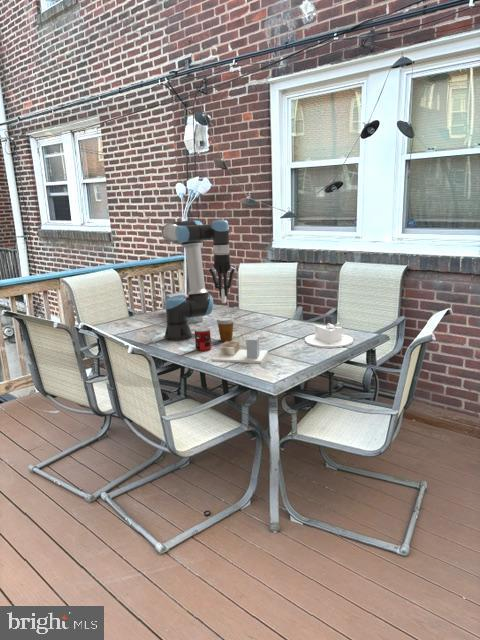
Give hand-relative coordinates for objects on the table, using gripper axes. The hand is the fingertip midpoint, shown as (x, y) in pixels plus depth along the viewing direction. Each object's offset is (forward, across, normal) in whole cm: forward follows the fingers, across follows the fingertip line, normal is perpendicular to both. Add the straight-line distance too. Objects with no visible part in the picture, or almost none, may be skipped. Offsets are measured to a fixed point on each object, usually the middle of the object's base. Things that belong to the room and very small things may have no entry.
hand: (224, 302), depth 224 cm
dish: (+26, +48, +27) cm, 61 cm away
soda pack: (+28, -51, +70) cm, 91 cm away
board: (+26, +8, -4) cm, 27 cm away
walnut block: (+23, +2, -6) cm, 24 cm away
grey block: (+25, +15, -6) cm, 30 cm away
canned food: (+26, -14, +4) cm, 30 cm away
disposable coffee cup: (+26, -7, +22) cm, 35 cm away
